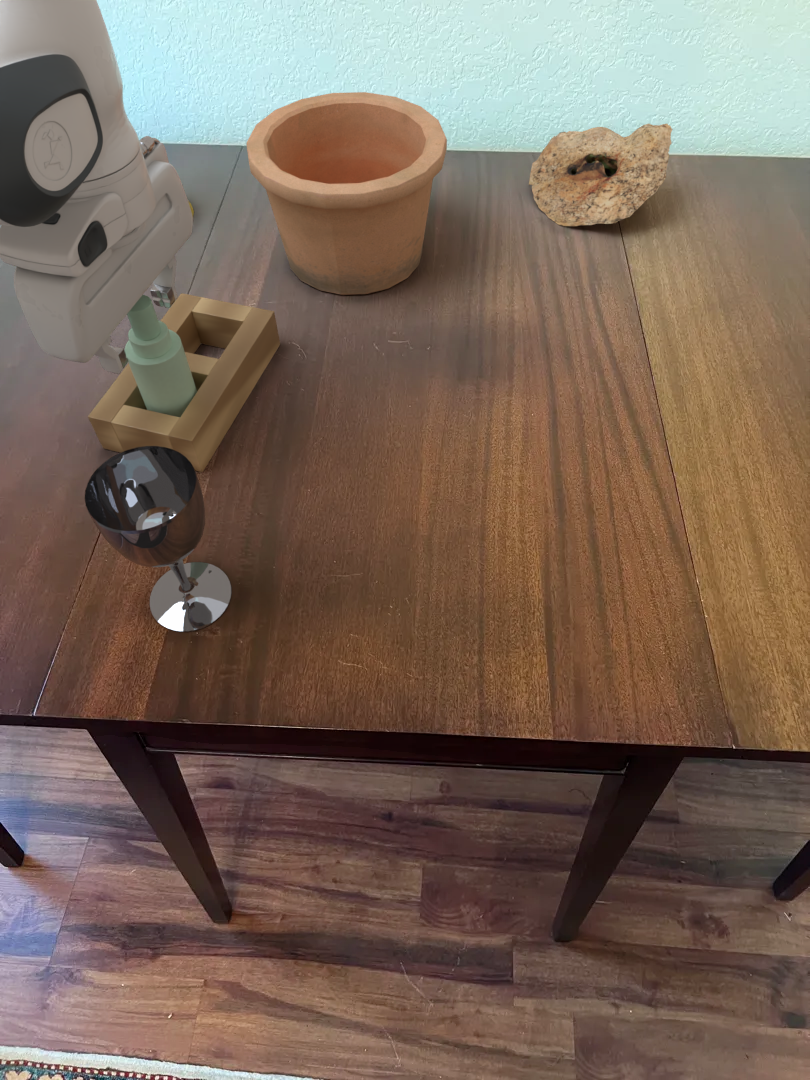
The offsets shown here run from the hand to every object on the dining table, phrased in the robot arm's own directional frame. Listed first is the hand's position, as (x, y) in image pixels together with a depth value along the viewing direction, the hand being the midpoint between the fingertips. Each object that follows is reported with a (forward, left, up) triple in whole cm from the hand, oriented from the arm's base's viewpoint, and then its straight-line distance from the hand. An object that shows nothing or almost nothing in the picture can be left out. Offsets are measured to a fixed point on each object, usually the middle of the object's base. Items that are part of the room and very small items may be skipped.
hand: (142, 334), depth 71 cm
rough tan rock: (+34, +52, -12) cm, 63 cm away
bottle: (+1, 0, -11) cm, 11 cm away
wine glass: (+11, -19, -12) cm, 25 cm away
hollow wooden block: (0, +5, -11) cm, 12 cm away
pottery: (+8, +33, -12) cm, 36 cm away
